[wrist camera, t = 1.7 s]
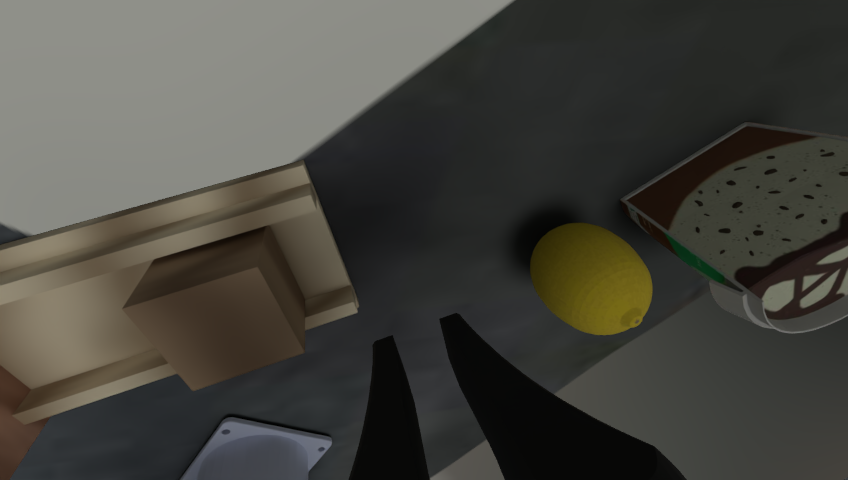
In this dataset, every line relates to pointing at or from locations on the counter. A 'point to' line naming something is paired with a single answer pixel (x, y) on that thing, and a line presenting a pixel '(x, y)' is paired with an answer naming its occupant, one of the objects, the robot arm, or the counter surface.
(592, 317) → the lemon
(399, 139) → the counter surface
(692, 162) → the food container
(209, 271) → the block
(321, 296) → the track
